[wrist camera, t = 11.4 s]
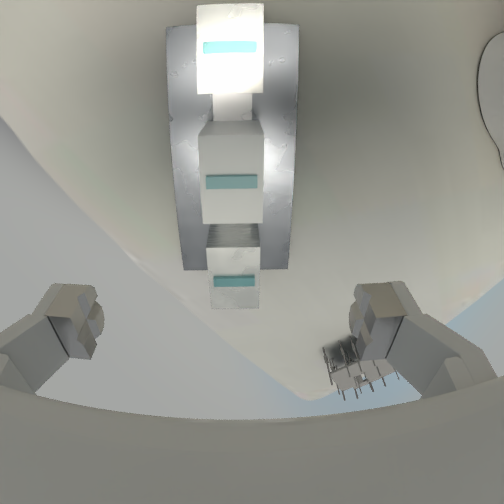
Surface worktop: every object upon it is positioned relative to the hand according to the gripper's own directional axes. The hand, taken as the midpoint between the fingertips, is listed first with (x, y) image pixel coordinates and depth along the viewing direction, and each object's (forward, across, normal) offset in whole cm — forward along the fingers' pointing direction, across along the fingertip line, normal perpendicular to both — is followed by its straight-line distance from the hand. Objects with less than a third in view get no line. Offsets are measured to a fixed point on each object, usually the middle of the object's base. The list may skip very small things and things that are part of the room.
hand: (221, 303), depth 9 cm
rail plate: (+19, 0, 0) cm, 19 cm away
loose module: (+18, 0, 0) cm, 18 cm away
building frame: (+20, -15, +26) cm, 36 cm away
